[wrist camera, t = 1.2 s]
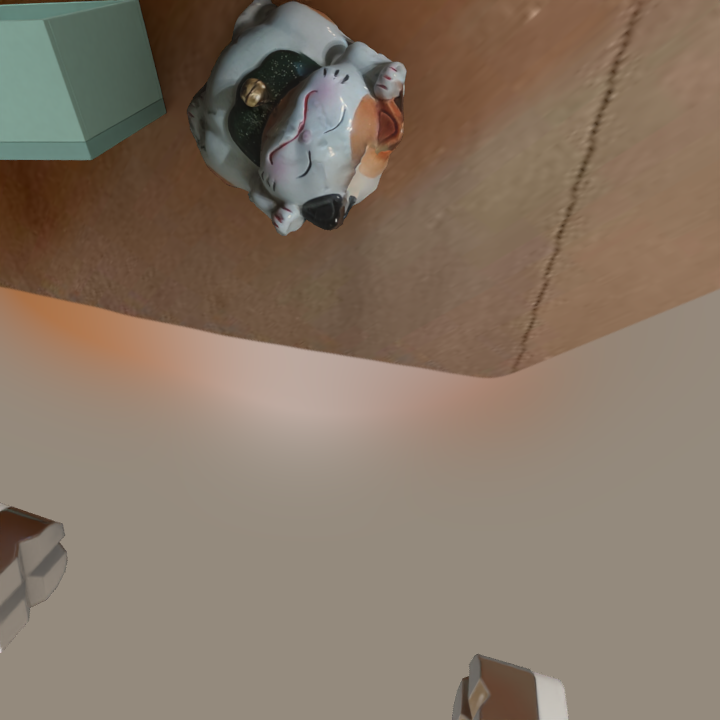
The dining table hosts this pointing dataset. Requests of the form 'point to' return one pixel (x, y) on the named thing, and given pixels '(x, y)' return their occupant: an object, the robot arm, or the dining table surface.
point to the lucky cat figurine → (298, 115)
